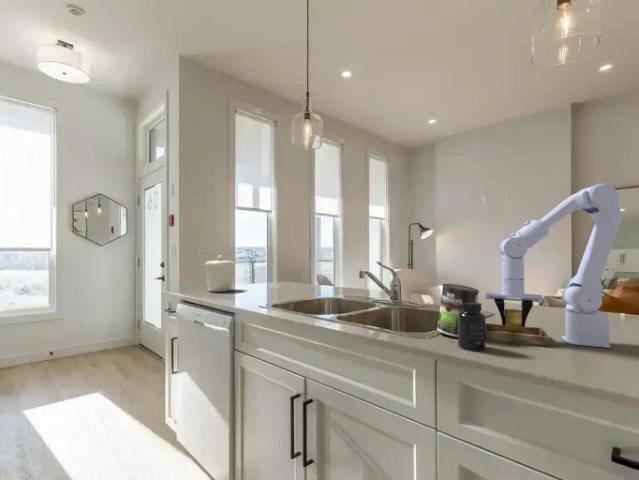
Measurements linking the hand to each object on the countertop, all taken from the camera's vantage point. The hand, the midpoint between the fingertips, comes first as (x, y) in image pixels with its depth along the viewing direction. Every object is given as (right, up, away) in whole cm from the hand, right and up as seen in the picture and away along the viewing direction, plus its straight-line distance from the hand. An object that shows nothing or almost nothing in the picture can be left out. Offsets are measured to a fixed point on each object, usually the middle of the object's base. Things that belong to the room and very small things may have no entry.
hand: (513, 325), depth 102 cm
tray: (0, -4, 0) cm, 4 cm away
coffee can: (-16, -4, +4) cm, 17 cm away
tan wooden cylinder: (0, -2, 0) cm, 2 cm away
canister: (-116, -6, +105) cm, 157 cm away
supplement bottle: (-16, -4, -9) cm, 19 cm away
